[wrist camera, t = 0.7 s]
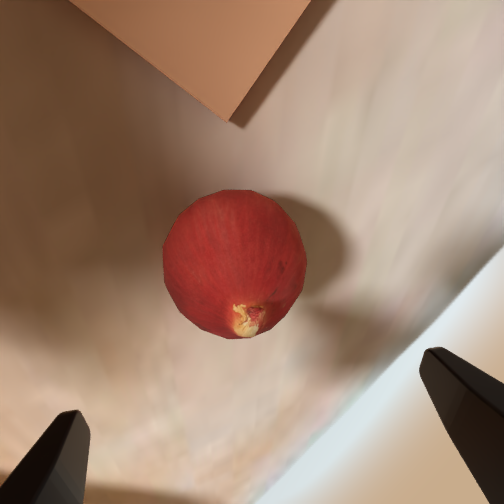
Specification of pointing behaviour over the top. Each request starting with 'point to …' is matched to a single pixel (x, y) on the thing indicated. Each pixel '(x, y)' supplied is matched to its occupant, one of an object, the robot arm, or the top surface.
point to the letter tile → (201, 40)
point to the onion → (234, 263)
